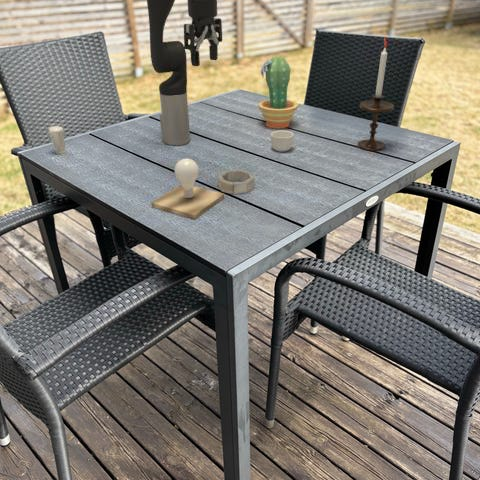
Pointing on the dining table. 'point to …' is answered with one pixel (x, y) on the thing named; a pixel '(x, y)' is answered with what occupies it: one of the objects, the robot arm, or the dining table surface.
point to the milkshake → (58, 139)
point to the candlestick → (376, 108)
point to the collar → (237, 186)
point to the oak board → (188, 201)
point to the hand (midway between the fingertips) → (204, 62)
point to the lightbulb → (187, 175)
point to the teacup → (282, 140)
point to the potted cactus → (277, 94)
